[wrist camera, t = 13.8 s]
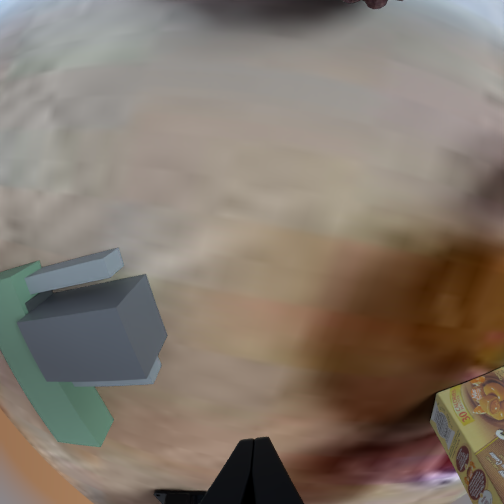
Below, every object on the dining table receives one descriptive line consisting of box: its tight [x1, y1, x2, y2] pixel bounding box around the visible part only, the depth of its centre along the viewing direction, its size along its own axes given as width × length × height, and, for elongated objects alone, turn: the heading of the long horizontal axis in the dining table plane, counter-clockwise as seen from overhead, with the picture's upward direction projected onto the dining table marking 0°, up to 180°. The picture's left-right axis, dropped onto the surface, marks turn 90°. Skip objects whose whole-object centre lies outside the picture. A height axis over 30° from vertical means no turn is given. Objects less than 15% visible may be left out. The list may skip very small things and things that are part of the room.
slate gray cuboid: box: [17, 274, 167, 382], centre depth 18 cm, size 4×8×5 cm, turn 102°
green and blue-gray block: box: [0, 248, 161, 447], centre depth 20 cm, size 15×12×4 cm
